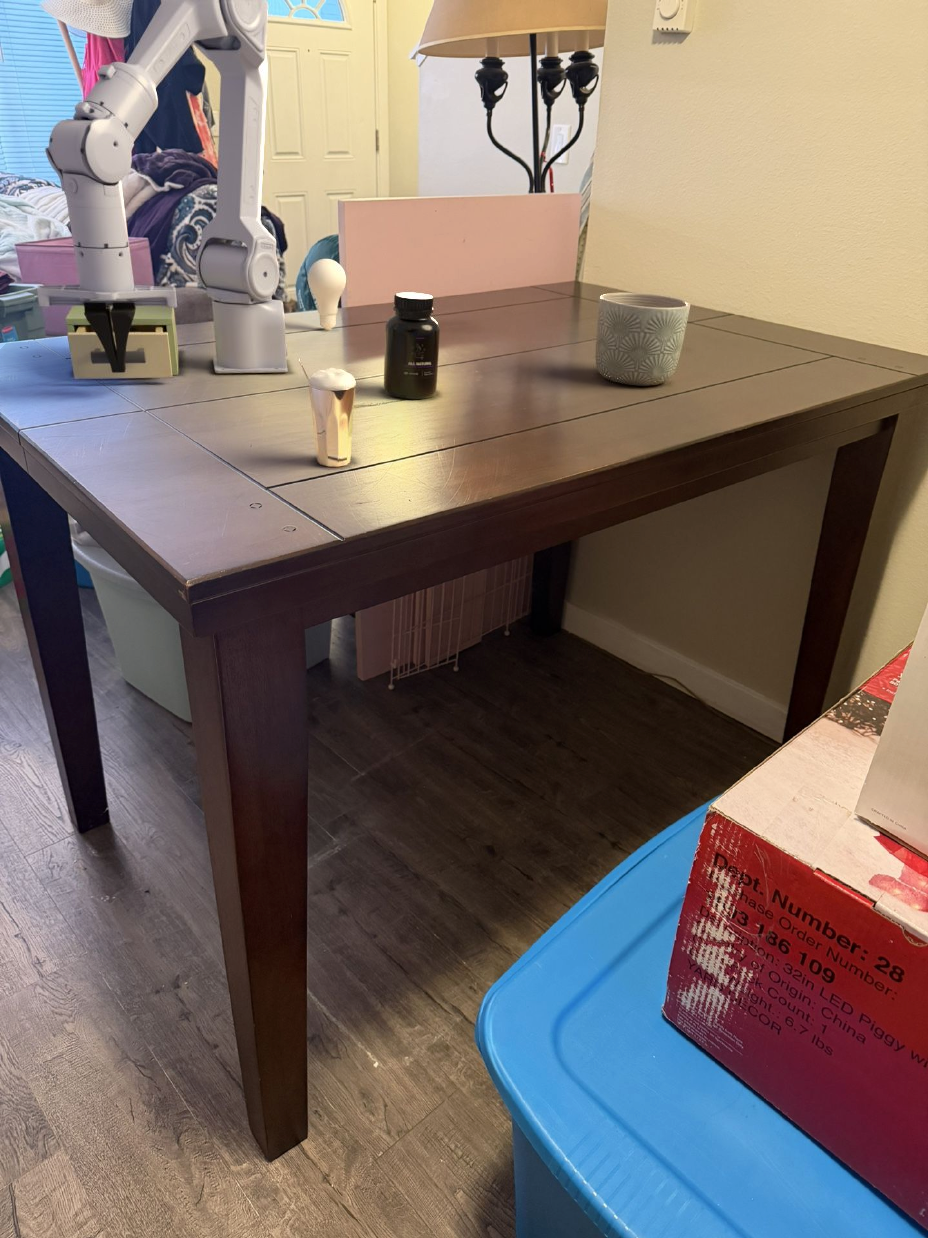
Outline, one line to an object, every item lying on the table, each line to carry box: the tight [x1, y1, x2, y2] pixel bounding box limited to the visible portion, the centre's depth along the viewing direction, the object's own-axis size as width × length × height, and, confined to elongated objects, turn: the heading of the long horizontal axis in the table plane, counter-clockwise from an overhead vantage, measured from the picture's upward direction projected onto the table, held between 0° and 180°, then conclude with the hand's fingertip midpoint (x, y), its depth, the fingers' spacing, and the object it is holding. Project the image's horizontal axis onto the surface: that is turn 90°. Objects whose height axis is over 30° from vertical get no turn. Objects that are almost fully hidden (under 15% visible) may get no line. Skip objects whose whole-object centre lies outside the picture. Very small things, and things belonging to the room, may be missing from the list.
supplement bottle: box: [383, 292, 441, 400], centre depth 109 cm, size 7×7×12 cm
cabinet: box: [64, 299, 179, 376], centre depth 116 cm, size 14×13×7 cm
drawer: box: [66, 325, 173, 380], centre depth 110 cm, size 17×11×5 cm
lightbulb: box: [307, 258, 347, 331], centre depth 142 cm, size 6×6×11 cm
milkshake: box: [298, 359, 357, 468], centre depth 85 cm, size 4×5×10 cm
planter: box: [595, 292, 691, 387], centre depth 123 cm, size 12×12×11 cm
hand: (119, 370), depth 102 cm, fingers closed, pressing on drawer
